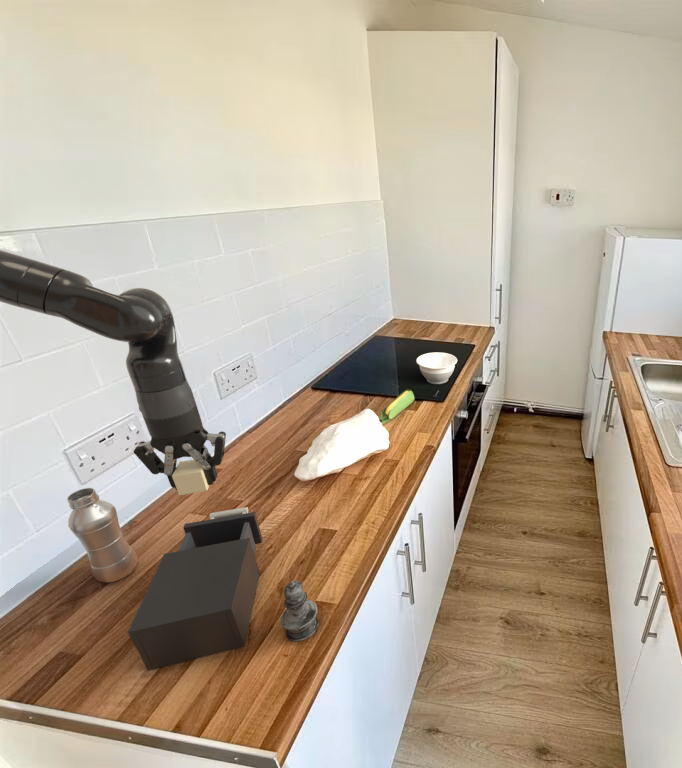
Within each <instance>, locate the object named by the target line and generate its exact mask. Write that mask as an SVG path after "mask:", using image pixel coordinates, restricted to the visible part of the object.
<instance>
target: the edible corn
mask: <svg viewBox="0 0 682 768" xmlns="http://www.w3.org/2000/svg"><path fill="white" fill-rule="evenodd" d="M414 401H415V394H414V392H413V391H412V390H411V389H405V390H404V391H402V392H401V393H400V394H399V395H398V396H396V398H394V400H392V401H391V403H389V404H388V405H387V406H386V407H385V408H384V409H383V410H382V411H381V412H380V413H379V414H380V416H379V421H380V422H381V423H382V425H384V424H387V423H388V422H390V421H391V420H393V419H394V418H395V417H397V415H399V414H400V413H401V412H403V411H404V410H406V409H407V408H408V407H409V406H410V405H412V403H413V402H414Z"/></svg>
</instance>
